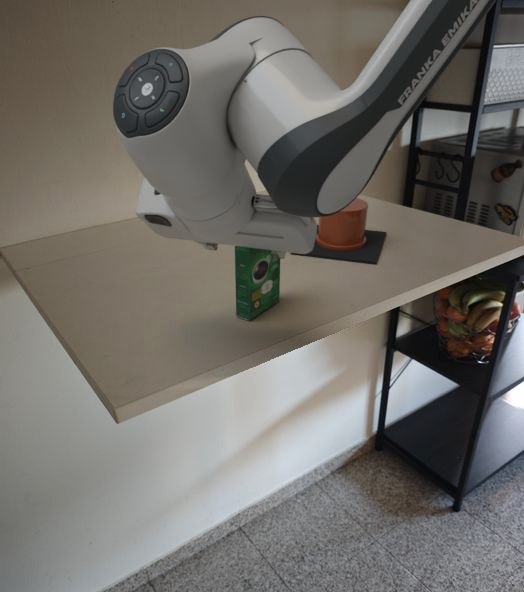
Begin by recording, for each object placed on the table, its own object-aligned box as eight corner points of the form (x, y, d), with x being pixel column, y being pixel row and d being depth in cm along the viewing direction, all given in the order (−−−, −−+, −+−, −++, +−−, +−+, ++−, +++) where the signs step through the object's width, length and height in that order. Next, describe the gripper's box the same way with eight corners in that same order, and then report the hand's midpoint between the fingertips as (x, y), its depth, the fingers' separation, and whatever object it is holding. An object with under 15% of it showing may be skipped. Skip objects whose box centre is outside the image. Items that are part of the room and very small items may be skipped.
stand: (369, 235, 100) (373, 198, 96) (361, 253, 93) (366, 214, 89) (321, 230, 103) (323, 193, 99) (310, 247, 95) (312, 208, 91)
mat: (386, 234, 102) (386, 231, 102) (376, 264, 90) (376, 262, 89) (310, 226, 107) (310, 223, 106) (290, 254, 94) (290, 251, 94)
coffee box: (266, 296, 80) (266, 215, 72) (281, 301, 78) (282, 219, 71) (234, 316, 74) (231, 231, 67) (250, 322, 73) (248, 236, 66)
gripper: (314, 176, 51) (328, 235, 64) (136, 162, 56) (182, 219, 69) (302, 233, 50) (318, 281, 63) (122, 213, 55) (171, 261, 68)
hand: (246, 249), depth 66 cm, fingers open, 8 cm apart
